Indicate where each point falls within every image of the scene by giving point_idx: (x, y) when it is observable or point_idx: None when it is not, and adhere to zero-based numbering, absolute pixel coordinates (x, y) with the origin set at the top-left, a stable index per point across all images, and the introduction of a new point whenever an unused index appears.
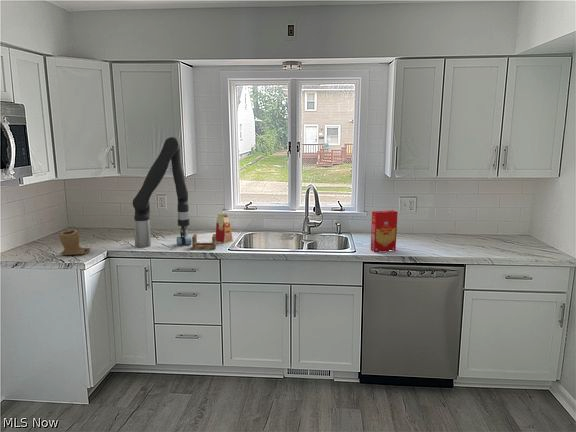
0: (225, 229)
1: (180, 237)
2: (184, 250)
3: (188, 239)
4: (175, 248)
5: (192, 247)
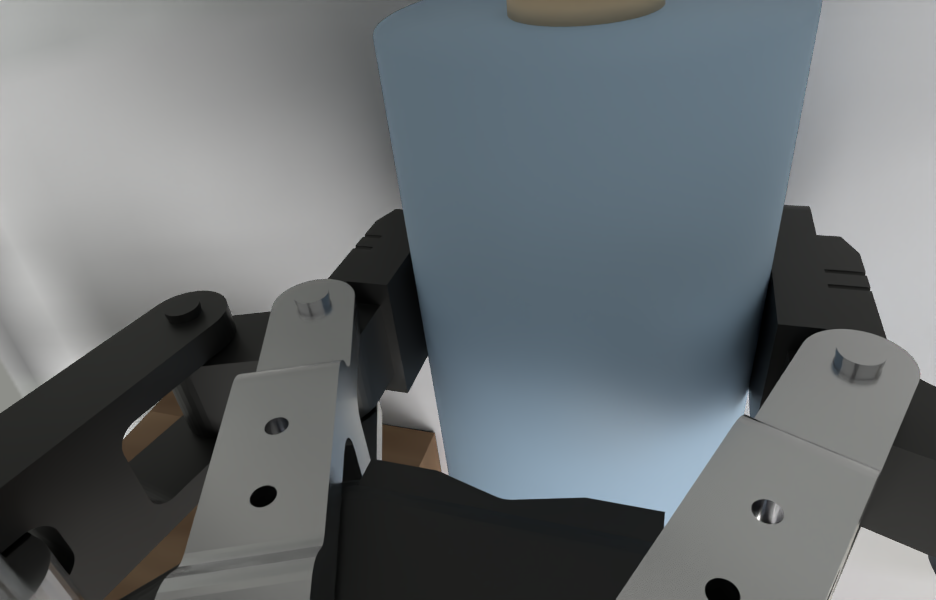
0: None
1: (451, 256)
2: (75, 258)
3: (447, 457)
4: (140, 12)
5: (140, 423)
